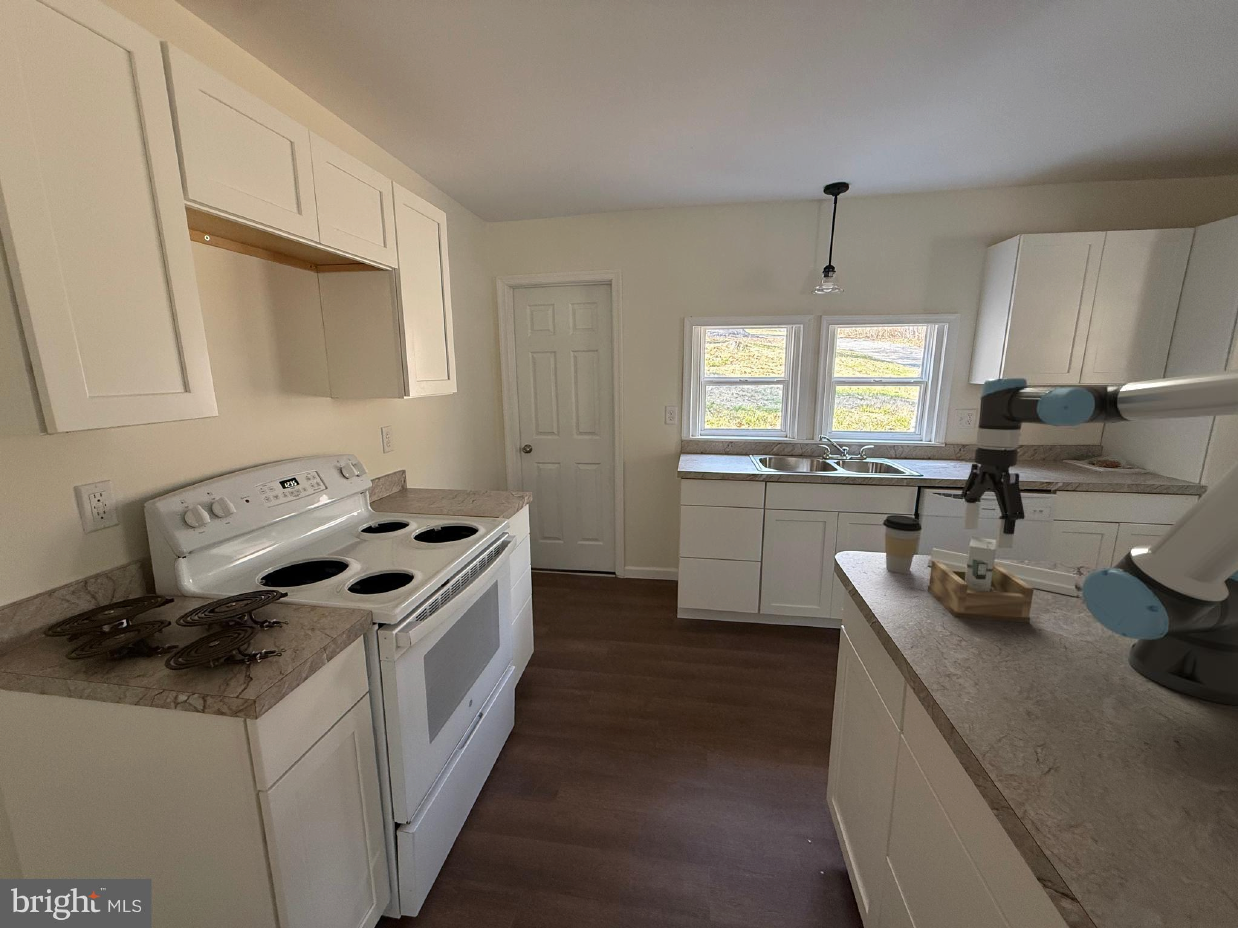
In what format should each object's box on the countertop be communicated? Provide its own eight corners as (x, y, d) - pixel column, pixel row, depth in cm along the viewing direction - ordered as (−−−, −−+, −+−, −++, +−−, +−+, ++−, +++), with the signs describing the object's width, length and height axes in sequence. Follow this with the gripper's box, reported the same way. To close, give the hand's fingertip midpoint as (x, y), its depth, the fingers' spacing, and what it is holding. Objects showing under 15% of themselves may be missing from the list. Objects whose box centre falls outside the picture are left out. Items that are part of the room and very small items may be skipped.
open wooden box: (1029, 622, 105) (1035, 588, 103) (954, 617, 108) (959, 583, 106) (992, 594, 118) (997, 563, 117) (927, 589, 121) (931, 560, 120)
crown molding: (927, 568, 136) (928, 556, 135) (933, 556, 145) (934, 545, 144) (1076, 599, 116) (1078, 585, 116) (1072, 583, 125) (1074, 570, 125)
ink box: (965, 579, 117) (970, 534, 115) (990, 585, 114) (996, 539, 112) (962, 592, 110) (969, 544, 108) (989, 598, 107) (996, 549, 105)
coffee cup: (922, 577, 129) (928, 525, 126) (885, 574, 130) (890, 523, 128) (909, 563, 138) (914, 514, 135) (874, 561, 140) (878, 513, 137)
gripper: (1055, 455, 93) (1041, 557, 96) (984, 440, 117) (974, 522, 121) (1012, 455, 94) (1000, 555, 98) (950, 440, 119) (942, 521, 122)
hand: (986, 537), depth 109 cm, fingers open, 13 cm apart
